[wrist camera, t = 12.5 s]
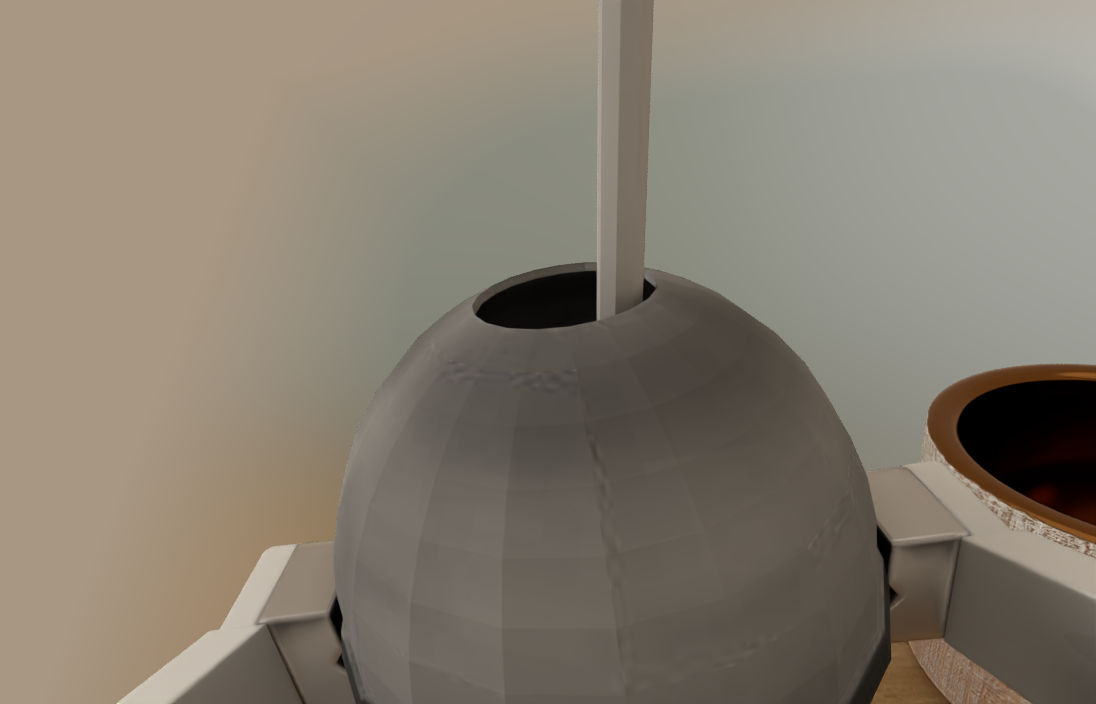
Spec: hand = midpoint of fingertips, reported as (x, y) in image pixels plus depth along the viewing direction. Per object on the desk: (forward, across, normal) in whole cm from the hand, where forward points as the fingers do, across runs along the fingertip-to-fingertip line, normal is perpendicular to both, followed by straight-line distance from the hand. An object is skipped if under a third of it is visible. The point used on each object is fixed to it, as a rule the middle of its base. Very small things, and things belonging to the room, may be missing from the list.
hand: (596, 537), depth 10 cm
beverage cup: (-1, 0, +11) cm, 11 cm away
